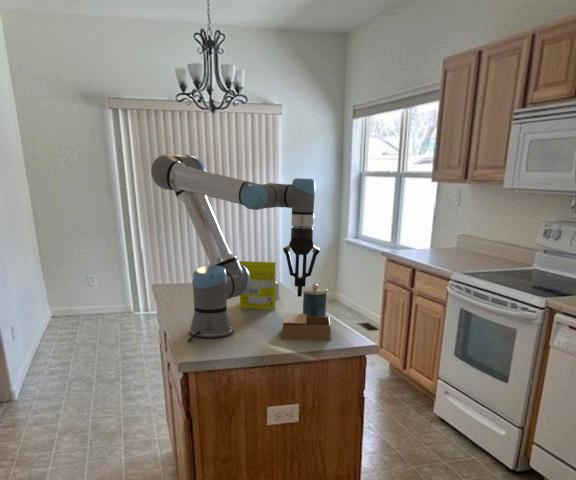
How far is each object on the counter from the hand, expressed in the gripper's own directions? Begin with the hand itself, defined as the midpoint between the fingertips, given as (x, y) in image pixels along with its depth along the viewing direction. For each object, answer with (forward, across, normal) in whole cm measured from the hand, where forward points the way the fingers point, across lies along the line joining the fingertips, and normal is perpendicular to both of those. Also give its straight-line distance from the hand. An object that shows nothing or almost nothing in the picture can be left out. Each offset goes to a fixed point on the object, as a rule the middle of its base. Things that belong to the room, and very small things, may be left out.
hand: (299, 295), depth 190 cm
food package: (+15, +18, -37) cm, 44 cm away
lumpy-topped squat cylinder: (+15, +17, -58) cm, 62 cm away
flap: (+9, +1, 0) cm, 9 cm away
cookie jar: (+15, -6, -14) cm, 21 cm away
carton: (+15, -3, 0) cm, 15 cm away
